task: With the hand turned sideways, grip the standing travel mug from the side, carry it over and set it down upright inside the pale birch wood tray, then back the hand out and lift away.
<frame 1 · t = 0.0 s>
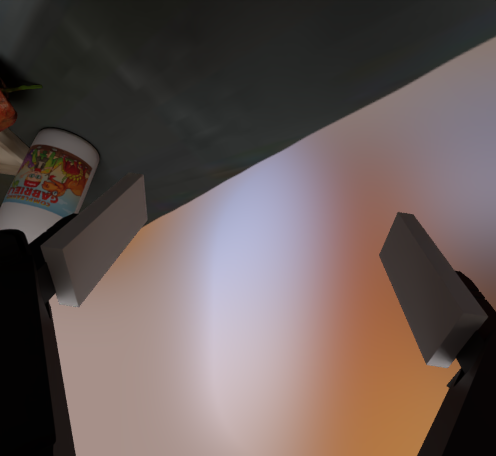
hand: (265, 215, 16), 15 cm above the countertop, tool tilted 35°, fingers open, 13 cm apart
milk bottle: (71, 144, 41), on the countertop
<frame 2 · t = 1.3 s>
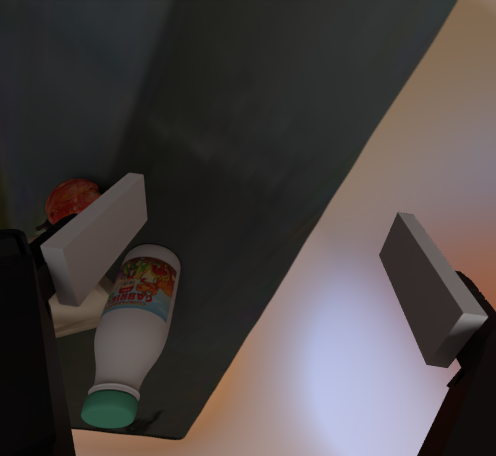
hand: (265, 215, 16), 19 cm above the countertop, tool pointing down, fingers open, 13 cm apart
milk bottle: (154, 262, 43), on the countertop
wood tray: (52, 286, 44), on the countertop
pomegranate: (97, 195, 36), on the countertop
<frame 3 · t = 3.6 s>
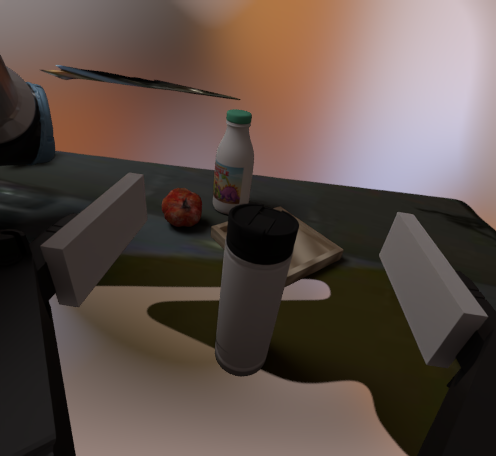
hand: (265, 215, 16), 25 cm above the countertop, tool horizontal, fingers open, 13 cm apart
milk bottle: (230, 207, 66), on the countertop
wood tray: (274, 247, 55), on the countertop
pomegranate: (182, 223, 58), on the countertop
travel mug: (239, 354, 36), on the countertop
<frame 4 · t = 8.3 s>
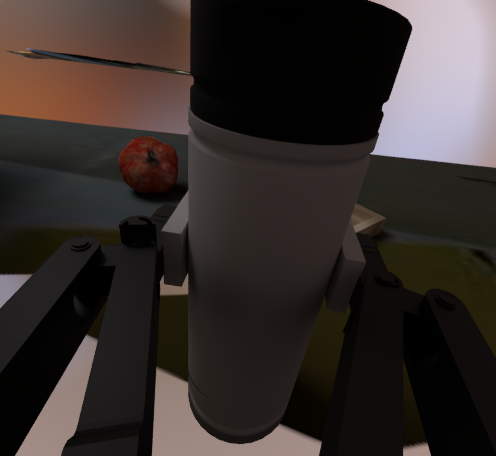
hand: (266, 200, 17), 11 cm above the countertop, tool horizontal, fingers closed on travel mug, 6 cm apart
wood tray: (284, 219, 38), on the countertop
pomegranate: (151, 190, 41), on the countertop
travel mug: (237, 393, 19), on the countertop, touching gripper
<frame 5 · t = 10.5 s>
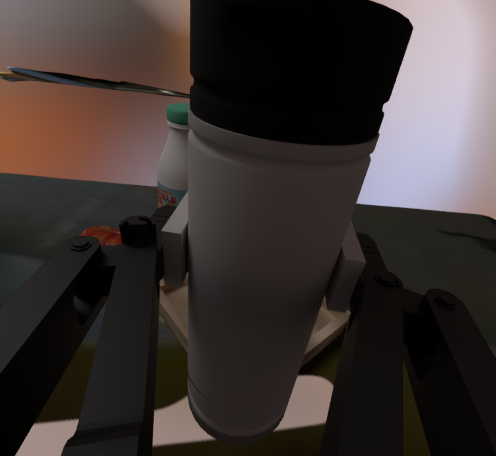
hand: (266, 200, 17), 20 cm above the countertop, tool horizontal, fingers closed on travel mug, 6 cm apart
milk bottle: (186, 244, 46), on the countertop
wood tray: (248, 313, 36), on the countertop
pomegranate: (108, 277, 38), on the countertop
travel mug: (236, 394, 19), point 9 cm above the countertop, touching gripper
when the fingers open (13 cm above the countertop, at t = 12.9 s): travel mug drops 1 cm, resting on wood tray.
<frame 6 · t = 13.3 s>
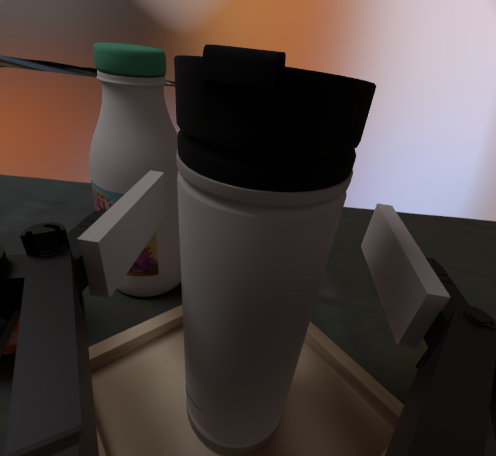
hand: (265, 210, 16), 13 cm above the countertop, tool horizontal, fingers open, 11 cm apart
milk bottle: (150, 273, 31), on the countertop
wood tray: (234, 411, 20), on the countertop
travel mug: (233, 405, 20), point 1 cm above the countertop, touching wood tray
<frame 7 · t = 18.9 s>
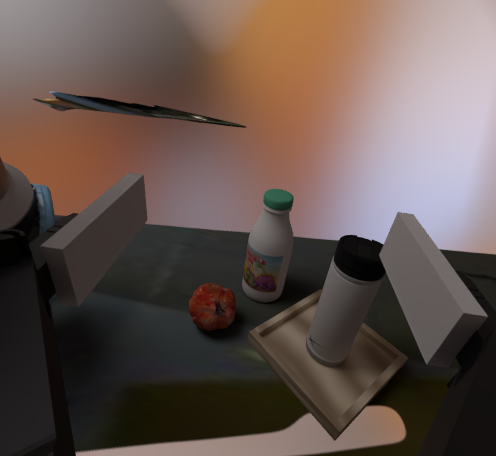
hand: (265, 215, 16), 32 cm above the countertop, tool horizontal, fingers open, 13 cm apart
milk bottle: (261, 289, 57), on the countertop
wood tray: (324, 353, 46), on the countertop
pomegranate: (211, 321, 49), on the countertop
travel mug: (325, 350, 46), point 1 cm above the countertop, touching wood tray
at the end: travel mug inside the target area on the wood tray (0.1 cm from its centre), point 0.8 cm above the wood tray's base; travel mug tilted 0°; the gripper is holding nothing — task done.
